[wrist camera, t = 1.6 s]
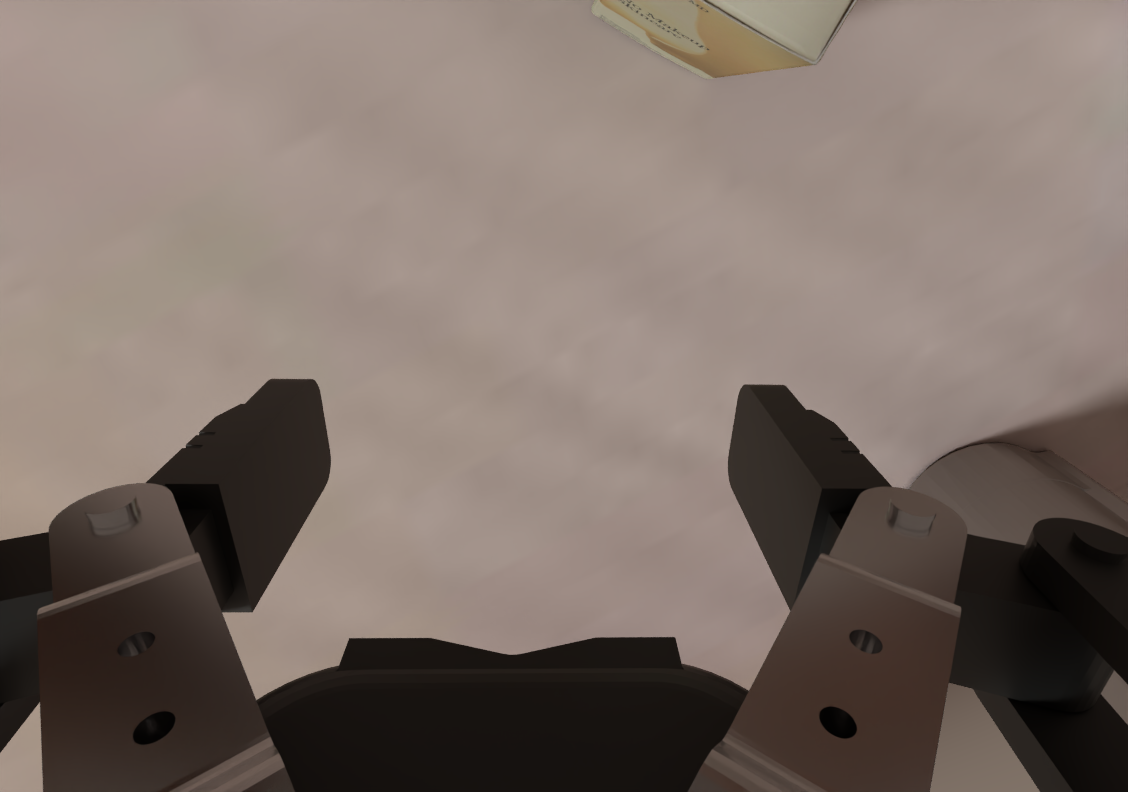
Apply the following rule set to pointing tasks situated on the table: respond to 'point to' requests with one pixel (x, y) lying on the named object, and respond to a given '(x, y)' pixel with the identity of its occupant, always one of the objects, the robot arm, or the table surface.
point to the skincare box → (730, 31)
